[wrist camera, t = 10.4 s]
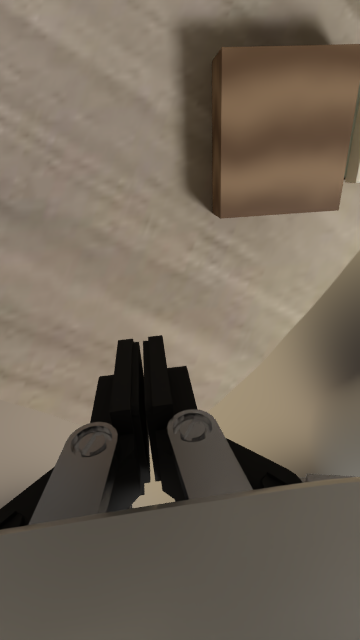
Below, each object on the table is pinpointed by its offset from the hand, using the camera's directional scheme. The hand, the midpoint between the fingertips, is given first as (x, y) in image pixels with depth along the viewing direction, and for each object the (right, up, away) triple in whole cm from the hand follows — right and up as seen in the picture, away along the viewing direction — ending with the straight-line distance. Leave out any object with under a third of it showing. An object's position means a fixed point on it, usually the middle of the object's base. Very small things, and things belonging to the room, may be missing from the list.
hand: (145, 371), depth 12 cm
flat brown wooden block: (+11, +21, +22) cm, 32 cm away
